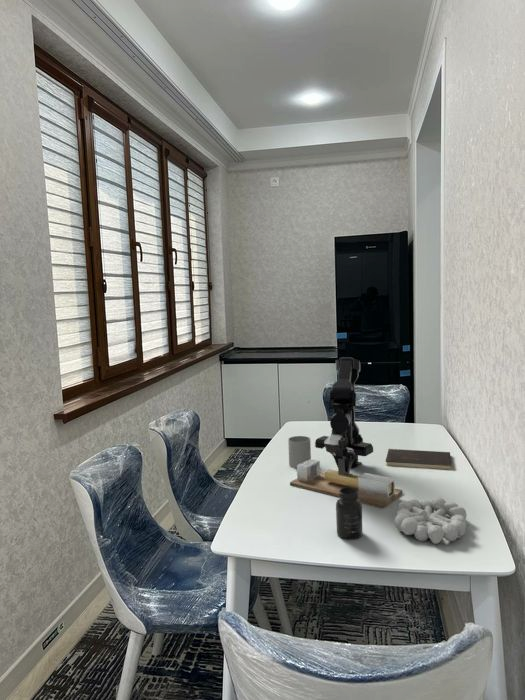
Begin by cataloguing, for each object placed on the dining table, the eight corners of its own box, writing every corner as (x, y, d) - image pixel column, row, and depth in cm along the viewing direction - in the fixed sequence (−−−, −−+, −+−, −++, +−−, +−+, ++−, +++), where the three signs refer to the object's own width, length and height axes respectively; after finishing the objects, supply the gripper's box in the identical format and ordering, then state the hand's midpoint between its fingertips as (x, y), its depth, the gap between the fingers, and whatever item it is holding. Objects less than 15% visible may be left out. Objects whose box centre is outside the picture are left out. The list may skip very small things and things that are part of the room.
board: (312, 472, 182) (312, 470, 182) (402, 493, 161) (402, 490, 161) (289, 484, 171) (289, 482, 171) (382, 508, 150) (382, 505, 150)
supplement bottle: (334, 529, 138) (333, 486, 136) (358, 527, 138) (357, 485, 137) (339, 541, 131) (338, 496, 130) (365, 539, 131) (365, 494, 130)
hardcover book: (451, 471, 180) (451, 465, 180) (385, 467, 187) (385, 460, 187) (449, 457, 195) (449, 451, 195) (388, 453, 202) (388, 448, 202)
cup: (313, 462, 194) (312, 436, 193) (308, 469, 186) (307, 442, 185) (292, 460, 197) (291, 435, 196) (286, 467, 189) (285, 441, 188)
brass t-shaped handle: (329, 477, 171) (329, 453, 170) (391, 491, 157) (391, 465, 156) (324, 480, 169) (324, 455, 168) (387, 495, 155) (387, 468, 154)
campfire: (491, 542, 128) (490, 519, 127) (412, 552, 124) (412, 529, 124) (446, 508, 149) (445, 489, 149) (378, 516, 146) (377, 497, 146)
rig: (310, 473, 179) (309, 458, 179) (396, 492, 159) (396, 476, 158) (297, 480, 173) (296, 465, 172) (385, 501, 153) (385, 484, 152)
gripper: (305, 426, 164) (306, 473, 165) (356, 434, 152) (357, 484, 153) (323, 419, 172) (324, 463, 174) (373, 426, 160) (374, 473, 162)
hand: (344, 471), depth 165 cm, fingers closed on brass t-shaped handle, 2 cm apart
